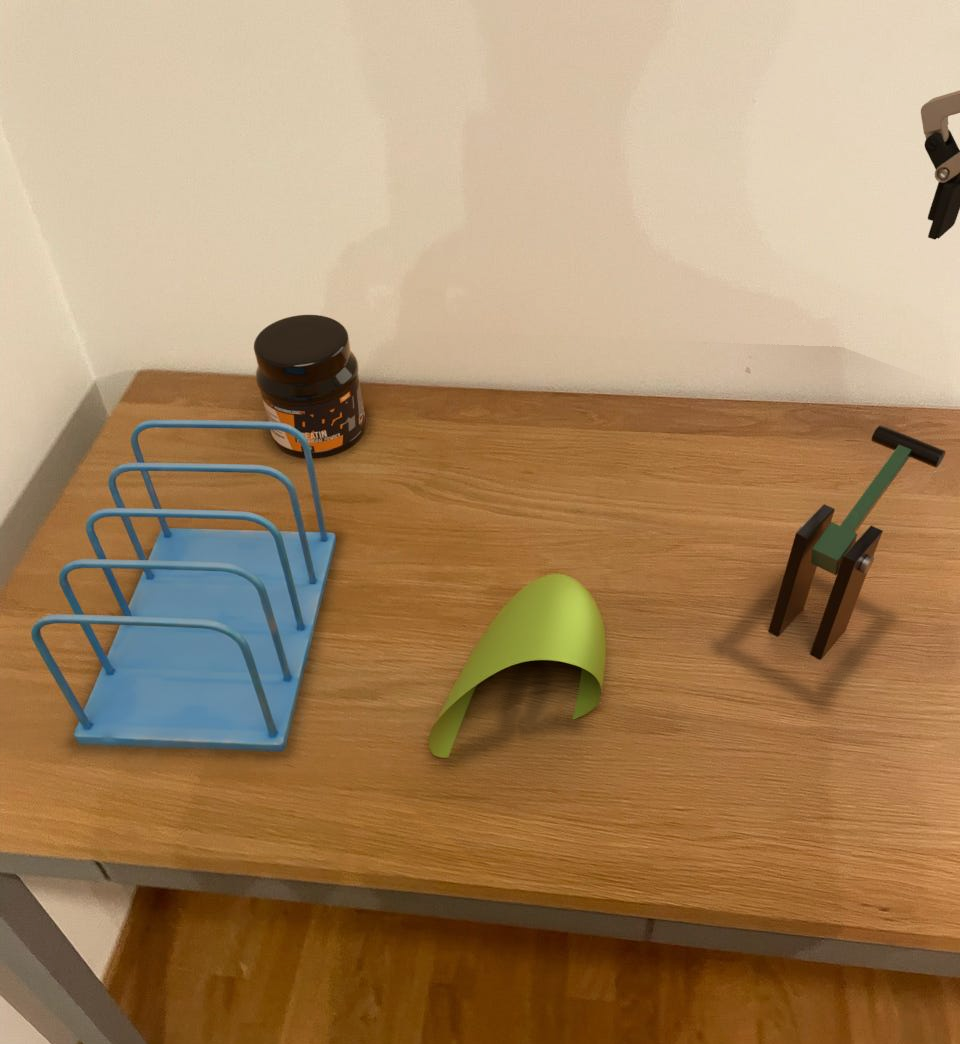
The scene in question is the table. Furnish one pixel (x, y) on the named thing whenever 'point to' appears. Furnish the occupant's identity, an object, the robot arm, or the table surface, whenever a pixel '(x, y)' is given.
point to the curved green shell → (532, 648)
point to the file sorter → (202, 620)
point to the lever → (871, 495)
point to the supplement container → (310, 384)
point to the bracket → (843, 589)
